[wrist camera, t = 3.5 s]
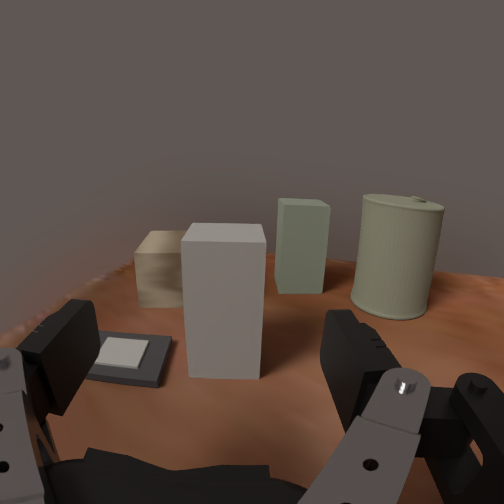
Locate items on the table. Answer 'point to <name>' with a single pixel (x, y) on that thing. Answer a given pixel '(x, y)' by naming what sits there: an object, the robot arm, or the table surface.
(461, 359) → the table surface
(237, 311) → the grey block
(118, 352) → the card
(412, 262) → the can
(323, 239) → the sage block
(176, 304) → the base block
